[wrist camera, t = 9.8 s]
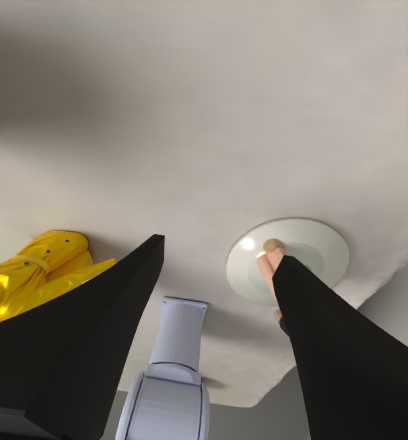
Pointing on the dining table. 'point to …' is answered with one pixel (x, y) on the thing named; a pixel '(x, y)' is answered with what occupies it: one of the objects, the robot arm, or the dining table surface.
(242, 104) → the dining table surface
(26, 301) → the yellow irregular piece
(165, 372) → the robot arm
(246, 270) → the dish
